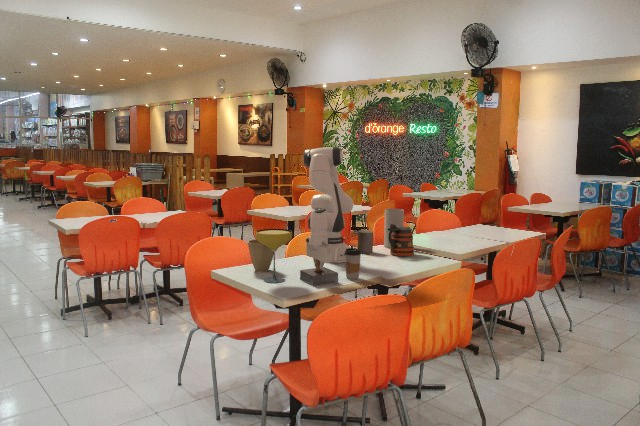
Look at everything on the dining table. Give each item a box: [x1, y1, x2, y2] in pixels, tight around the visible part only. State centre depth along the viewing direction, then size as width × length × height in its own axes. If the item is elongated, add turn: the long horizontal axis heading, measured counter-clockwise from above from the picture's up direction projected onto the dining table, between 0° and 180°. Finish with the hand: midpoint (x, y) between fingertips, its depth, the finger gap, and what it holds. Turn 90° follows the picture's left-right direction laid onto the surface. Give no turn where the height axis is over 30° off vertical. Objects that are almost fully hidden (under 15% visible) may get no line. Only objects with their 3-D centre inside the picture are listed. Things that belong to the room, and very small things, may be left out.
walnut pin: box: [315, 259, 322, 273], centre depth 265 cm, size 3×3×10 cm
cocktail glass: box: [255, 228, 293, 284], centre depth 266 cm, size 18×18×25 cm
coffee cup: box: [344, 247, 362, 281], centre depth 271 cm, size 8×8×15 cm
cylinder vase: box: [383, 208, 405, 249], centre depth 354 cm, size 12×12×25 cm
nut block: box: [299, 266, 339, 287], centre depth 266 cm, size 14×14×5 cm
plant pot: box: [247, 238, 274, 273], centre depth 288 cm, size 15×15×16 cm
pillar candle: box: [357, 229, 374, 255], centre depth 336 cm, size 10×10×15 cm
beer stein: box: [388, 224, 415, 257], centre depth 329 cm, size 19×15×20 cm
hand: (318, 268), depth 266 cm, fingers closed on walnut pin, 3 cm apart
